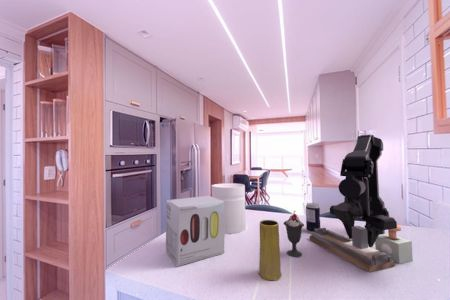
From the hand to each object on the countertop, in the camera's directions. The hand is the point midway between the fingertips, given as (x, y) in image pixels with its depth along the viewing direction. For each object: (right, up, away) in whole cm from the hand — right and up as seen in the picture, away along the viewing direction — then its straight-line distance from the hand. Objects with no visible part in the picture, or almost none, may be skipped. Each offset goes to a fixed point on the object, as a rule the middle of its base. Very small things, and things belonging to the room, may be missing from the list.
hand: (360, 242), depth 64 cm
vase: (-31, -5, -8) cm, 32 cm away
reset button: (+11, +1, +1) cm, 11 cm away
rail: (-2, -5, +5) cm, 7 cm away
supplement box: (-54, -6, +5) cm, 55 cm away
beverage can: (-4, -7, +24) cm, 25 cm away
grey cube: (+11, -5, +1) cm, 12 cm away
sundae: (-20, -6, +3) cm, 21 cm away
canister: (-42, -7, +30) cm, 52 cm away
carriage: (0, -3, 0) cm, 3 cm away
